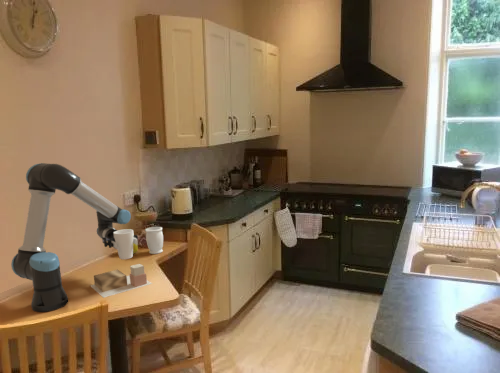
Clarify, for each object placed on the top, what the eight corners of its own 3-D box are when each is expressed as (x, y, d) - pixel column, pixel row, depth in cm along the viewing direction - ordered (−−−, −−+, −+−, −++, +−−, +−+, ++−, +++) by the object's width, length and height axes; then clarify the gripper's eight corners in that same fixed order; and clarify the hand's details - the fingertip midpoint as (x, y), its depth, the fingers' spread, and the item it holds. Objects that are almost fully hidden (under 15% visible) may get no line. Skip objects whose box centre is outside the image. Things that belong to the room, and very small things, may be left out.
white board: (103, 300, 199) (103, 297, 199) (90, 288, 215) (90, 285, 215) (152, 286, 213) (152, 283, 213) (136, 276, 229) (136, 273, 229)
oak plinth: (102, 292, 205) (101, 281, 205) (94, 285, 215) (93, 275, 214) (127, 285, 212) (126, 275, 212) (118, 278, 222) (117, 269, 221)
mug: (133, 255, 266) (131, 236, 264) (117, 255, 268) (115, 236, 266) (142, 249, 278) (140, 231, 276) (126, 249, 280) (125, 231, 278)
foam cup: (112, 259, 211) (109, 233, 209) (122, 254, 220) (120, 229, 218) (129, 260, 208) (126, 234, 206) (139, 254, 217) (137, 229, 215)
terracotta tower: (135, 286, 210) (133, 268, 208) (130, 283, 214) (128, 266, 213) (146, 283, 213) (145, 265, 212) (142, 280, 218) (140, 263, 216)
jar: (160, 254, 264) (158, 230, 262) (144, 254, 266) (142, 230, 264) (167, 249, 274) (165, 226, 272) (151, 249, 276) (149, 226, 274)
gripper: (133, 238, 235) (149, 246, 217) (91, 246, 222) (104, 256, 204) (131, 224, 234) (148, 232, 216) (89, 232, 221) (103, 241, 203)
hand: (127, 244), depth 210 cm, fingers closed on foam cup, 9 cm apart
